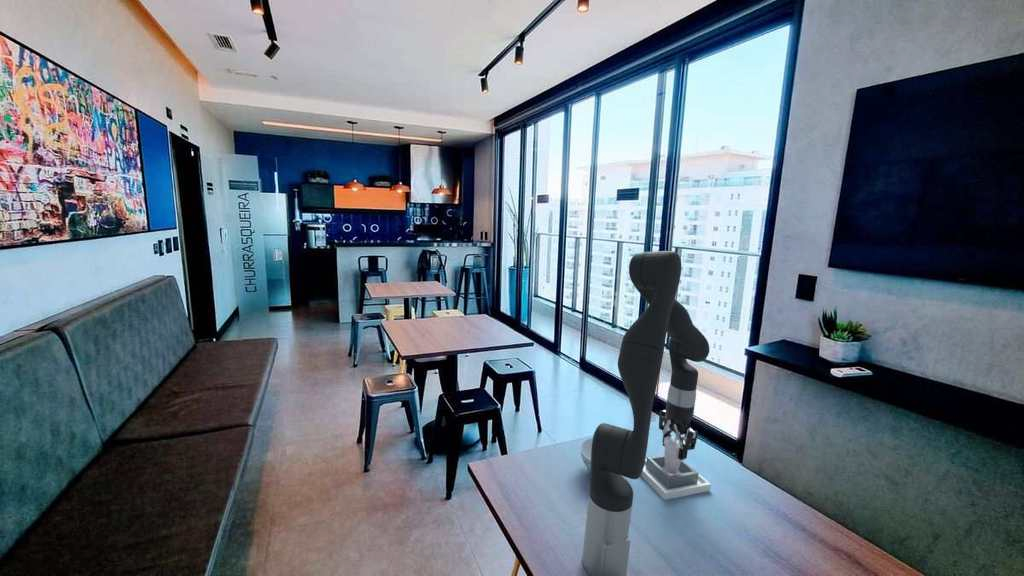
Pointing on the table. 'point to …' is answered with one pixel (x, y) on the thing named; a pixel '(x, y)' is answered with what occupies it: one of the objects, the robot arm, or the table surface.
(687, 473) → the white square tray
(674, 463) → the smoothie
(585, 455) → the chinaware
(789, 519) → the table surface
